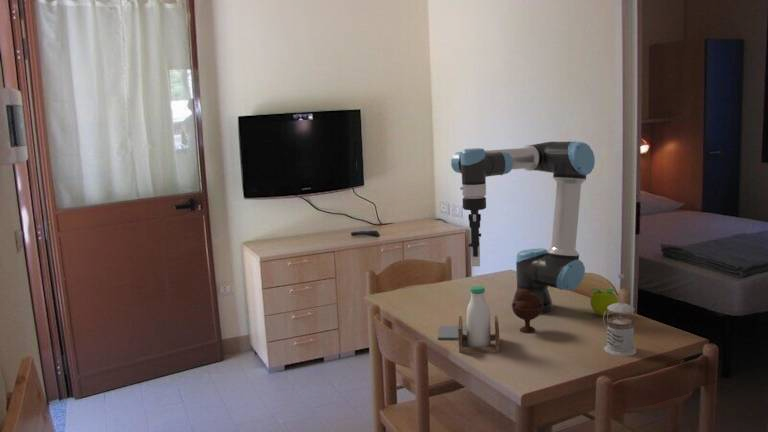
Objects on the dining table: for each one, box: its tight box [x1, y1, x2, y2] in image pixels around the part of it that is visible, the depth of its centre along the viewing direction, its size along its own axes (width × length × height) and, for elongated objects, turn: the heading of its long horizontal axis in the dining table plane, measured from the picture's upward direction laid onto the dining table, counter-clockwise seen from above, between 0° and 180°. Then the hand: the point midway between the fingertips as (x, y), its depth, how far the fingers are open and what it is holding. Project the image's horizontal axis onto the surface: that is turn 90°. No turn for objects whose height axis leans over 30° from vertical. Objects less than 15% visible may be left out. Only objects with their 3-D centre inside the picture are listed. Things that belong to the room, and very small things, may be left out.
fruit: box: [590, 288, 618, 317], centre depth 235 cm, size 9×9×10 cm
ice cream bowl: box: [510, 289, 543, 334], centre depth 222 cm, size 11×11×15 cm
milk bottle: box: [466, 285, 492, 347], centre depth 211 cm, size 8×8×20 cm
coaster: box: [437, 325, 467, 341], centre depth 224 cm, size 12×12×1 cm
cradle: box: [457, 315, 500, 354], centre depth 212 cm, size 13×13×8 cm
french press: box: [602, 273, 637, 357], centre depth 201 cm, size 10×12×25 cm
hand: (475, 261), depth 208 cm, fingers open, 13 cm apart
